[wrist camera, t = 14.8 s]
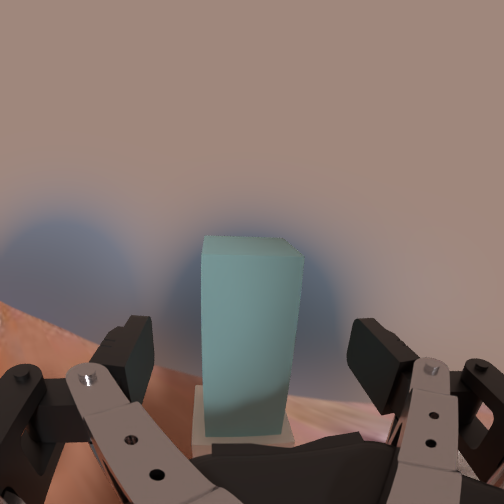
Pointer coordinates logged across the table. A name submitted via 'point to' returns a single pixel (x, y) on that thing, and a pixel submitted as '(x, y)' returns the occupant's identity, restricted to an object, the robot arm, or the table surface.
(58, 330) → the table surface
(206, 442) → the cream cube
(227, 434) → the teal post
